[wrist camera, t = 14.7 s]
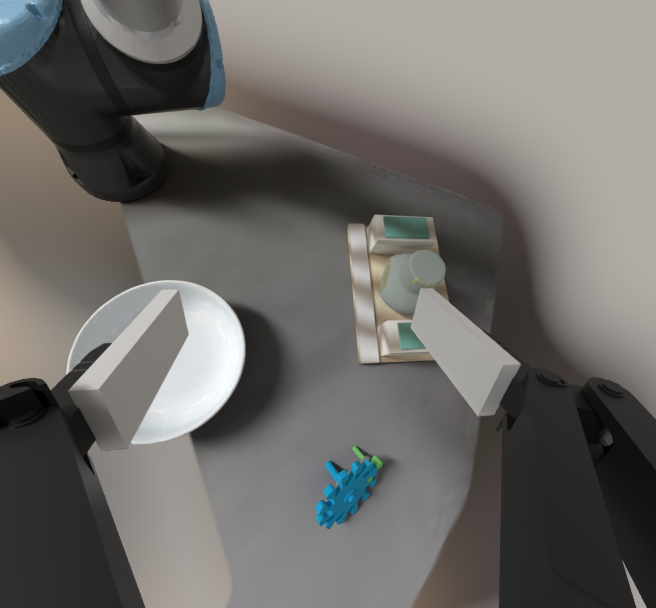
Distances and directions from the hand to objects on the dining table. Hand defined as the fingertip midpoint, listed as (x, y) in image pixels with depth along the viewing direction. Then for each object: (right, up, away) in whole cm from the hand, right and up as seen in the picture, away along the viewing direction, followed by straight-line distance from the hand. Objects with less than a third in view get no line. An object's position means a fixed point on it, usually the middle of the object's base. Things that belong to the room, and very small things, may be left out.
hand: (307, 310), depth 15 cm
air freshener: (+14, +3, +34) cm, 37 cm away
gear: (+4, -26, +24) cm, 36 cm away
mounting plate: (+14, +3, +34) cm, 37 cm away
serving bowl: (-21, -8, +26) cm, 34 cm away
